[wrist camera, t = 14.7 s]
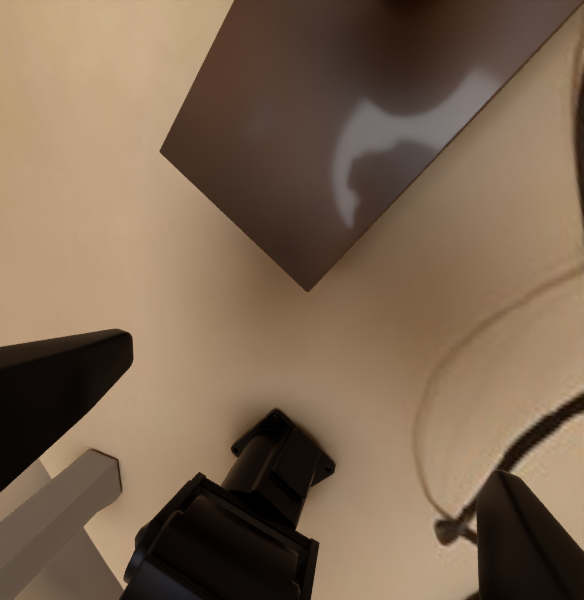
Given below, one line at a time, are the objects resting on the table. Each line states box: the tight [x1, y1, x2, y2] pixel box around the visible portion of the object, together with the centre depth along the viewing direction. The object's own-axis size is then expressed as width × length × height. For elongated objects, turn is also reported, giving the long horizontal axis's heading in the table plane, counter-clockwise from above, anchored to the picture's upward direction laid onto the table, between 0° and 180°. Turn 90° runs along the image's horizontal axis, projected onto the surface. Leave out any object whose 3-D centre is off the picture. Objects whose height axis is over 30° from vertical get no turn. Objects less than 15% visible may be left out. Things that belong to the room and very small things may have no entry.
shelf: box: [160, 0, 584, 292], centre depth 14 cm, size 16×10×5 cm, turn 139°
